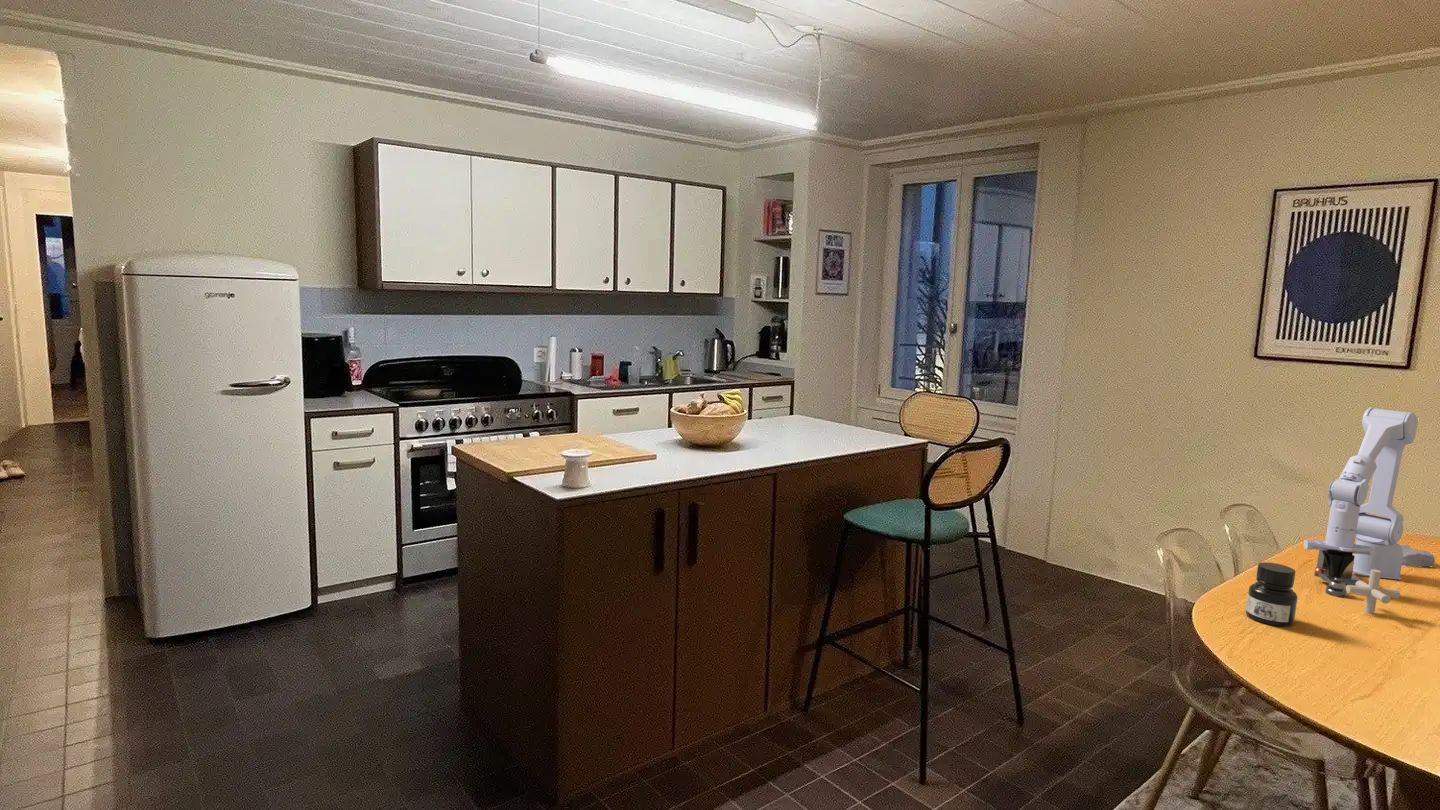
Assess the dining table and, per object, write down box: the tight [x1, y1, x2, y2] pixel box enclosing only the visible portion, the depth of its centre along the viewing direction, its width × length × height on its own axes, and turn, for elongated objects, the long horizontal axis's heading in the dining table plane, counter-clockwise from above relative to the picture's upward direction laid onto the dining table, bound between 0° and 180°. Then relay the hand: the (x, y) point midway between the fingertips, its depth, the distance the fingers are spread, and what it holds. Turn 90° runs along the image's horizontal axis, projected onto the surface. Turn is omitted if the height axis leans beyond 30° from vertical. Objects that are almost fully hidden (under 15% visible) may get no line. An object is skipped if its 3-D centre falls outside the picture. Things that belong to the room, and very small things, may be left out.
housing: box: [1327, 560, 1354, 578], centre depth 203 cm, size 5×5×5 cm
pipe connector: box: [1345, 569, 1401, 615], centre depth 181 cm, size 10×10×10 cm
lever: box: [1314, 566, 1346, 591], centre depth 197 cm, size 3×11×2 cm, turn 165°
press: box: [1316, 550, 1363, 586], centre depth 206 cm, size 7×12×7 cm, turn 165°
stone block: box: [1399, 544, 1436, 568], centre depth 222 cm, size 12×5×10 cm
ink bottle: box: [1245, 561, 1298, 627], centre depth 175 cm, size 10×9×12 cm
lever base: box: [1324, 577, 1347, 598], centre depth 193 cm, size 4×4×4 cm
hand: (1334, 579), depth 199 cm, fingers closed
